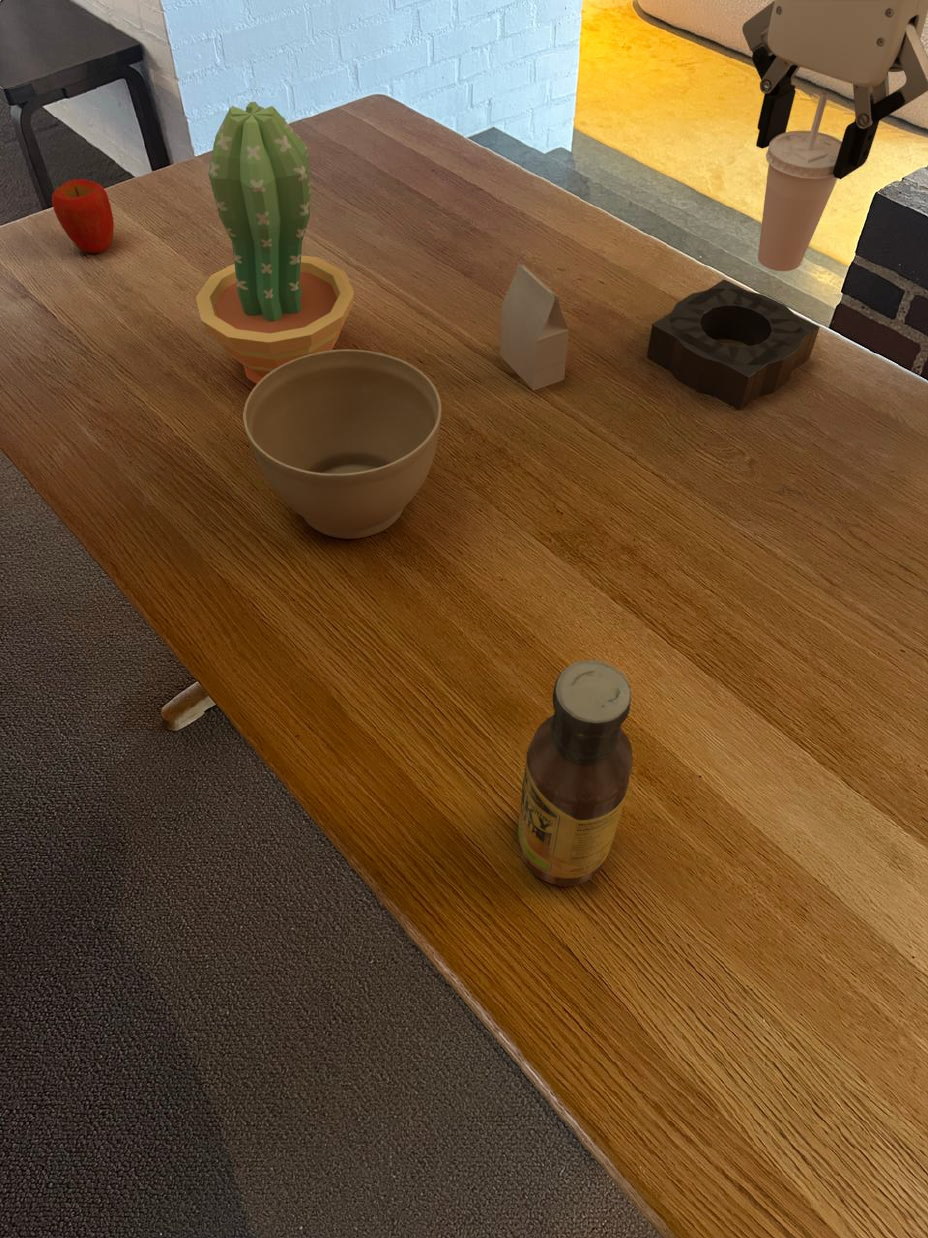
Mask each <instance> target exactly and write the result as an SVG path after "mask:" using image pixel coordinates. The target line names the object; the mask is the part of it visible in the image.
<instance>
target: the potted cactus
mask: <svg viewBox="0 0 928 1238" xmlns="http://www.w3.org/2000/svg"><path fill="white" fill-rule="evenodd" d="M309 160H310V159H309V148H308V147H307V145H305V142H303V141H302V139H301V136H299V135H298V134H297V132H296V131H295V130H294V129H293V128H292V127H291V126H290V124H288V122H287V121H286V118H285V117H284V116H282V114H280V113H279V111H278V109H276V108H275V107H274V106H273V105H270V106H268V107H266V108H265V107H263V106H260V105H259V104H258V103H257V102H256V101H249V102H248V104H247V105H246V107H245V110H243V109H242V108H240V107H236V106H234V105H232V106H231V107H229V109H228V110H227V113H226V115H225V116H224V119H223V121H222V123H221V125H220V126H219V129H218V130H217V132H216V134H215V137H214V141H213V146H212V150H211V159H210V164H209V168H208V174H207V175H208V178H209V183H210V186H211V190H212V193H213V198H214V202H215V205H216V210H217V213H218V216H219V219H220V221H221V223H222V225H223V227H224V229H225V231H226V233H227V235H228V238H230V241H231V247H232V254H233V255H232V256H233V262H234V263H232V264H231V265H229V266H227V267H224V268H223V269H221V270H218V271H217V272H215V273H213V274H211V275H210V276H209V278H208V279H207V281H206V282H205V283H204V285H203V286H202V288H201V289H200V291H199V292H198V293H197V295H196V296H195V300H196V304H197V308H198V313H199V316H200V320H201V323H202V324H203V326H204V328H205V330H206V332H207V334H209V335H210V336H212V337H214V338H215V339H217V340H218V341H219V342H220V343H221V345H222V347H223V348H224V349H225V351H226V352H227V354H228V356H230V357H232V359H234V360H236V362H238V363H240V364H241V365H242V366H243V369H244V372H245V376H246V378H247V379H248V380H249V381H251V382H253V384H255V385H257V383H258V382H259V381H260V380H261V379H262V378H263V377H265V376H266V375H267V374H268V373H270V372H271V371H273V370H274V369H276V368H277V367H279V366H281V365H283V364H285V363H287V362H289V361H291V360H294V359H297V358H299V357H302V356H305V355H309V354H314V353H318V352H323V351H329V350H333V349H334V346H335V344H336V342H337V341H338V339H339V337H340V334H341V331H342V328H343V327H344V324H345V322H346V320H347V318H348V316H349V314H350V313H351V311H352V309H353V305H354V299H355V291H354V289H353V287H352V285H351V282H350V279H349V277H348V275H347V273H346V271H344V270H342V269H341V268H339V267H337V266H335V265H333V264H332V263H329V262H328V261H326V260H325V259H322V258H320V257H318V256H311V255H302V251H303V250H302V248H303V240H304V237H305V234H306V231H307V227H308V223H309V220H310V216H311V206H310V200H311V196H312V193H311V176H310V162H309Z"/></svg>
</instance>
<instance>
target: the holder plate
mask: <svg viewBox="0 0 928 1238" xmlns="http://www.w3.org/2000/svg"><path fill="white" fill-rule="evenodd" d="M820 328H821V326H819V325H817V324H815V323H813V322H811V321H809V320H807V319H805V318H803V317H801V316H799V315H797V314H795V313H794V312H793V311H792V310H790V308H789V307H788V306H786V304H783V303H782V302H780V301H778V300H775V299H774V298H771V297H769V296H767V295H766V294H762V293H759V292H754V291H751V290H747V289H745V288H743V287H742V286H738V285H737V284H735V283H733V282H731V281H729V280H726V279H725V278H724V279H722V280H720V281H718V282H717V283H716V284H714V285H712V286H711V287H709V288H708V289H706V290H701V291H697V292H693V293H691V294H689V295H687V296H686V297H684V298H682V299H681V300H680V301H678V302H676V303H675V304H674V307H673V308H672V310H671V312H669V313H668V314H666V315H664V316H663V317H661V318H660V319H658V320H656V321H655V322H653V323H652V324H651V329H650V335H649V341H648V346H647V352H646V358H647V359H649V360H651V361H653V362H654V363H656V364H658V365H660V366H662V367H663V368H664V369H667V370H669V371H670V372H671V373H672V375H673V376H674V377H675V379H676V380H677V381H679V382H681V383H682V384H684V385H686V386H687V387H689V388H690V389H693V390H695V391H697V392H698V393H702V394H706V395H708V396H709V395H710V396H714V397H716V398H717V399H719V400H721V401H722V402H724V403H727V404H728V405H730V406H731V407H734V408H735V409H737V410H738V411H741V410H742V409H743V408H745V407H746V406H747V405H749V404H750V403H752V402H753V401H755V400H756V399H758V398H759V397H762V396H766V395H770V394H773V393H775V392H776V391H778V390H779V389H780V388H782V387H783V386H784V385H786V384H787V383H788V382H790V379H791V377H792V373H793V372H794V371H796V370H797V369H798V368H800V367H802V366H803V365H804V364H805V363H806V362H808V361H809V360H810V358H811V355H812V352H813V349H814V346H815V343H816V340H817V338H818V334H819V331H820ZM717 339H729V340H734V341H738V342H743V343H744V344H746V345H748V346H746V345H745V346H744V345H731V344H727V343H723V342H720V341H718V340H717Z"/></svg>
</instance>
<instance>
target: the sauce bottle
mask: <svg viewBox="0 0 928 1238" xmlns="http://www.w3.org/2000/svg"><path fill="white" fill-rule="evenodd" d="M631 702H632V690H631V684H630V683H629V682H628V679H627V677H626V675H624V673H623V672H622V671H621V670H620V669H618V668H617V667H615V666H613V665H611V664H609V663H607V662H605V661H601V660H596V659H587V660H580V661H576V662H573V663H572V664H569V665H568V666H567V667H565V668H564V669H563V670H562V671H561V672H560V674H558V676H557V678H556V680H555V683H554V686H553V692H552V704H553V705H552V707H553V710H554V712H553V715H552V714H551V716H549V717H547V718H546V719H545V720H544V721H543V722H542V723H541V724H540V725H539V727H538V728H537V729H536V731H535V732H534V734H533V736H532V739H531V741H530V742H529V744H528V746H527V750H526V755H525V765H524V772H523V780H522V787H521V796H520V797H521V799H520V800H521V802H520V807H519V808H520V809H519V817H518V827H517V835H518V847H519V851H520V854H521V857H522V859H523V860H524V862H525V864H526V865H527V867H528V869H529V870H530V872H531V873H532V874H533V875H534V876H536V878H538V879H540V880H542V881H545V882H547V883H548V884H552V885H556V886H560V887H564V888H565V887H566V888H568V887H569V888H570V887H574V886H577V885H580V884H582V883H585V882H587V881H588V880H590V879H592V878H593V877H595V875H597V874H598V873H599V872H600V871H601V870H602V868H603V866H604V863H605V861H606V859H607V857H608V856H609V854H610V851H611V847H612V845H613V841H614V837H615V835H616V831H617V828H618V824H619V821H620V817H621V813H622V811H623V808H624V803H625V800H626V797H627V793H628V790H629V787H630V778H631V775H632V768H633V764H634V763H633V760H634V757H633V756H634V755H633V747H632V743H631V741H630V738H629V736H628V735H627V734H626V733H625V731H624V730H623V729H622V724H623V723H624V722H625V721H626V720H627V719H628V716H629V714H630V711H631Z"/></svg>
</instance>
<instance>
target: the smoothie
mask: <svg viewBox="0 0 928 1238" xmlns="http://www.w3.org/2000/svg"><path fill="white" fill-rule="evenodd" d="M828 97H829V92H827V91H821V92H820V95H819V99H818V103H817V106H816V110H815V113H814V117H813V121H812V125H811V128H810V130H789V131H786V132H785V133H782V134H779V135H777V136H776V137H774V138H773V139H772V140H771V141H770V143H769V146H768V147H767V151H766V153H765V159H766V162H767V164H768V167H767V176H766V183H765V193H764V200H763V209H762V210H763V211H762V219H761V227H760V234H759V235H760V237H759V244H758V252H757V253H758V254H757V260H758V262H759V264H760V265H762V266H763V267H765V268H767V269H768V270H772V271H777V272H790V271H793V270H794V271H795V270H796V269H798V268H799V267H800V266H801V264H802V262H803V259H804V257H805V255H806V253H807V250H808V248H809V247H810V243H811V242H812V239H813V236H814V234H815V232H816V229H817V227H818V225H819V222H820V220H821V218H822V216H823V213H824V211H825V209H826V206H827V205H828V202H829V199H830V197H831V195H832V192H833V191H834V189H835V186H836V183H837V181H838V178H835V177H834V175H833V170H834V167H835V163H836V160H837V156H838V153H839V150H840V146H841V143H842V140H840V139H839V138H837V137H835V136H833V135H830V134H827V133H824V132H819V131H820V130H819V129H820V126H821V123H822V118H823V116H824V112H825V108H826V104H827V100H828Z"/></svg>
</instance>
